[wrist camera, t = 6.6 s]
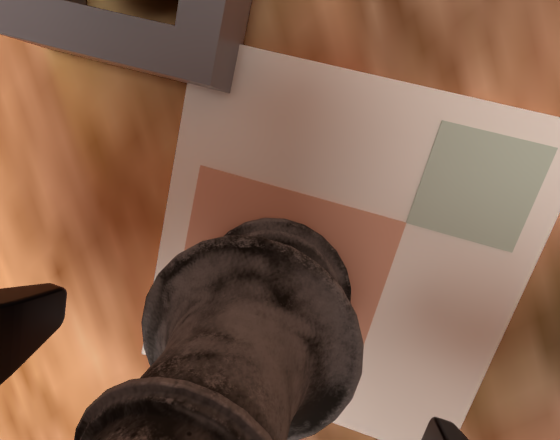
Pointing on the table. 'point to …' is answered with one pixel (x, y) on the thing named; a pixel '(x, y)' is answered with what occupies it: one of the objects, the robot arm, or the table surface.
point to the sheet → (380, 213)
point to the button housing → (138, 36)
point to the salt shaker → (241, 343)
